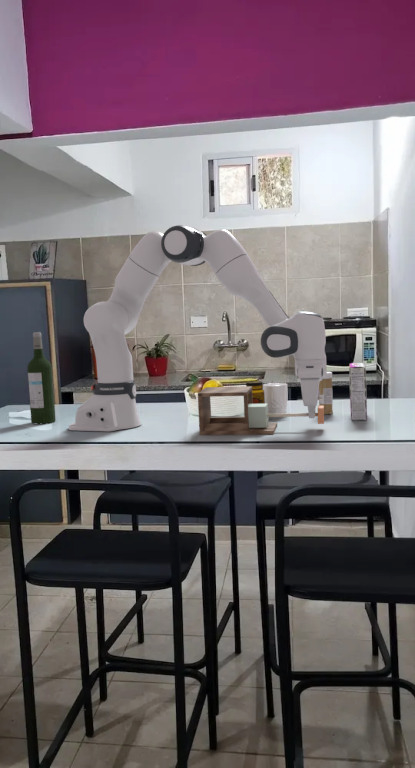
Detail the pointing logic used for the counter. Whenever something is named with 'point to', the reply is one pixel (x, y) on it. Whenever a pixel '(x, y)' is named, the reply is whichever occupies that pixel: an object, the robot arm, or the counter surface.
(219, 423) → the shelf
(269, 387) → the white cup
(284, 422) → the counter surface
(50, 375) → the wine bottle
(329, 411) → the sprinkles bottle
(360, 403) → the candy bar box
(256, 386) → the condiment
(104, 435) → the counter surface
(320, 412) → the mallet
